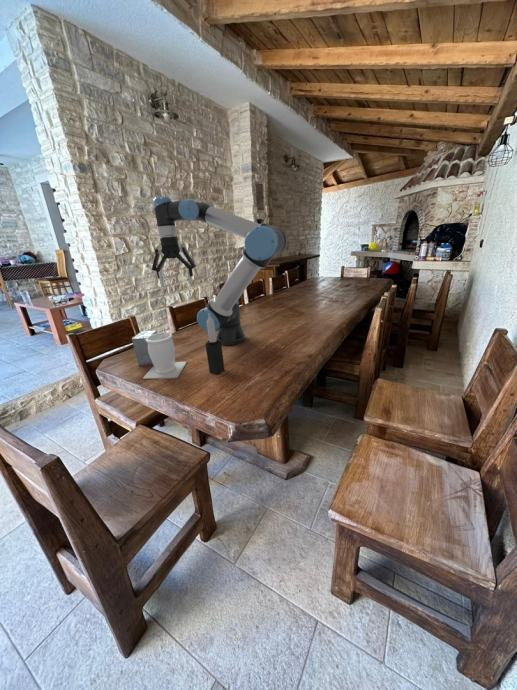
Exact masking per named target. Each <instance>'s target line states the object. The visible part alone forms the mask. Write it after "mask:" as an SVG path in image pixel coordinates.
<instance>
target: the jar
mask: <svg viewBox="0 0 517 690" xmlns="http://www.w3.org/2000/svg"><path fill="white" fill-rule="evenodd" d="M172 338H173V334H172V333H171V332H157V334H153V335H150V336H148V337H147V338H146V339H145V340H146V342H147V343H148V352H149V356H150V358H151V360H152V363H153V365H152V366H155V367H156V372H157V373H161V374H163V373H168V372H171V371H173V370H174V369H175V368H176V365H175V364H174V363H175V362H176V348H175V344H174V341H173V339H172Z"/></svg>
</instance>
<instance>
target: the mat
mask: <svg viewBox="0 0 517 690" xmlns="http://www.w3.org/2000/svg"><path fill="white" fill-rule="evenodd" d="M174 364H175V365H176V368H175V369H174V370H173V371H171V372H168V373H163V374H161V373H157V372H156V367H155V366H154V365H152V367H151V368H150V369H149V370H148V371H147V372H146V373H145V375H144V376H143V377H142V378H143V380H155V379H156V380H159V379H178V377H179V376H180V375H181V372H182V371H183V369H184V368H185V366H186V365H187V364H188V361H175V363H174Z"/></svg>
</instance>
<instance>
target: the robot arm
mask: <svg viewBox="0 0 517 690" xmlns="http://www.w3.org/2000/svg"><path fill="white" fill-rule="evenodd" d="M152 201H153V211H154V215H155V219H156V225H157V231H158V236H159V237H160V238H159V242H160V246H161V249H160V248H155V249H154V258H153V262H152V266H151V271H154V272H156V277H157V279H159V284H160V286H161V287H163V286H165V280H164V279H165V278H164V274H163V270H162V268H163V266H164V264H165V262H166V261H167V260H168V259H169V260H170V259H177V260H179V261H180V263H181V264H183V265H184V266H185V267H186V268H187V271H186V272H187V277H188V284H189V285H192V284H193V278H192V277H193V276H194V272H193V269H195V268H196V267H197V265H196V264H195V262H194V261H193V259H192V258H191V256H190V254H189V253H188V250H187V248H186V246H184V247H183V246H182V247H180V246H179V240H178V237H177V235H178V234H177V228H176V227H177V226H176V222H180V221H182V222H183V221H199V222H202V223H205V224H207V225H210V226H213V227H215V228H217V229H220V230H223V231H225V232H228V233H230V234H233V235H235V236H238V237H240V238H243V239H244V243H243V244H244V246H243V248H242V249H241V254H242V257H241V258H240V259H239V261H238V263H237V264H236V266H235V267H234V269H233V270H232V271H231V274H229V276H228V278H227V279H226V281H225V283H224V284H223V285H222V287H221V289H220V290H219V291H218V293H217V295H216V296H215V297H211V299H210V300H209V301H208V302H207V304H206V306H205V307H203V308H202V309H200V310H199V311H198V312H197V314H196V321H197V323H198V324H197V325H198V326H199V327H200V328H201V329H202V330H203V331H204V332H205V333H208V329H207V320H208V313H210V315H211V317H212V319H213V320H214V324H215V332H216V339H218V340H219V341H221V346H234V345H239V344H241V343H243V342H244V341H246V335H245V332H244V329H243V328H242V325H241V324H242V323H241V315H240V314H241V313H240V303H239V299H240V297H241V296H242V295H243V294H244V292H245V290H247V288H248V286H249V285H250V284H251V282H252V281H253V279H254V278H255V277H256V275H257V274H258V272H259V271H260V270H263V269H265V268H267V267H268V265H269V264H270V262H271V261H272V259H273V258H274V257H276V256H279V255H281V254H282V253H284V251H285V250H286V247H287V244H288V238H287V237H288V236H287V234H286V232H285V231H284V229H282V227H279V226H277V225H272V224H267V223H265V222H262V223H257V222H255V221H252V220H249V219H247V218H244V217H242V216H239V215H236V214H233V213H230V212H228V211H225V210H223V209H220V208H218V207H215V206H212V205H210V204H209V203H206V202H204V201H201V202H199V201H198V202H197V201H194V200H193V199H186V198H185V199H182V200H175V201H172V199H171V197H169V196H159V197H154V198H153V200H152ZM161 253H162V254H163V256H162V257H161V260H160V255H161ZM180 253H182V254H183V256H184V257H185V259H184V257H182V255H181V254H180ZM159 260H160V261H159Z"/></svg>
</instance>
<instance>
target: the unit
mask: <svg viewBox="0 0 517 690" xmlns="http://www.w3.org/2000/svg"><path fill="white" fill-rule="evenodd" d="M157 333H158V332H157V330H155V329H154V330H141V331H140V332H139V333H137V334H136V335H135V336H133V337H132V338H131V340H132V345H133V348H134V352H135V353H134V354H135V357H136V360H137V364H138V367H139V366H154V365H153V363H152V360H151V358H150V356H149V352H148V343H147V342H146V340H145V339H146V338H147V337H148V336H150V335H153V334H157Z"/></svg>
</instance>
